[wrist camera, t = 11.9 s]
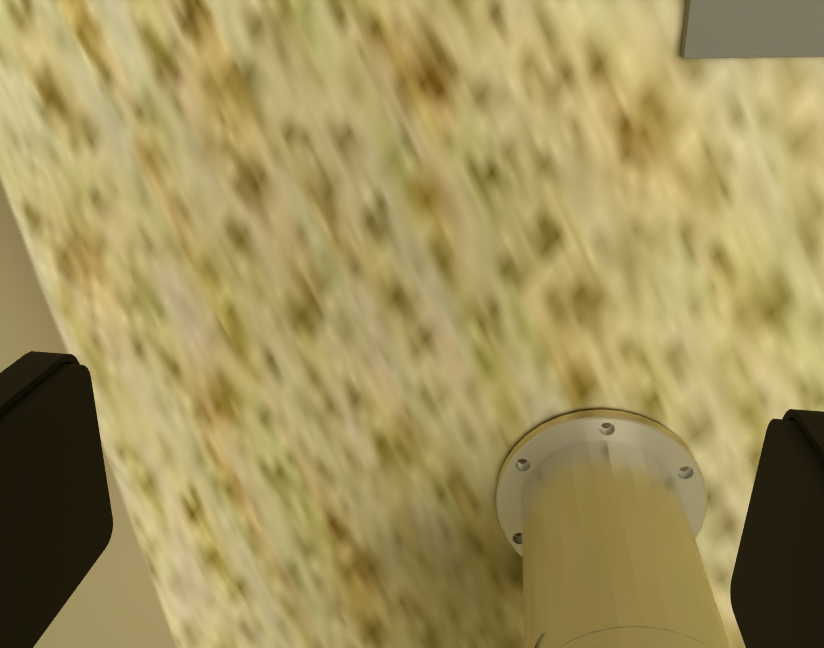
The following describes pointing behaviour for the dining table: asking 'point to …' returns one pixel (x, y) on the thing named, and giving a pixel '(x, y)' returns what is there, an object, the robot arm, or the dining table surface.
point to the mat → (753, 28)
